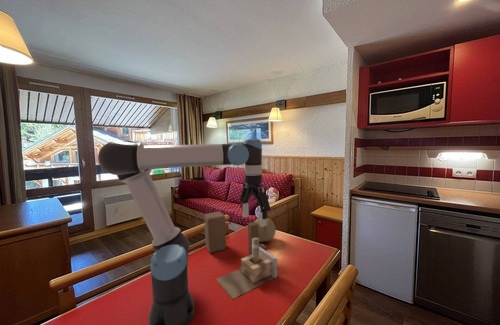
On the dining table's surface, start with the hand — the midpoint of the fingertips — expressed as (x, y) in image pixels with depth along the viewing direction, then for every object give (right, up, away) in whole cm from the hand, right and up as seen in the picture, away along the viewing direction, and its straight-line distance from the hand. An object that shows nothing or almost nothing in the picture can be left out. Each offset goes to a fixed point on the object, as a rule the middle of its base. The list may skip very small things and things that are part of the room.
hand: (254, 221), depth 92 cm
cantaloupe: (+7, -22, +36) cm, 43 cm away
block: (-22, -24, +28) cm, 43 cm away
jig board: (-3, -26, 0) cm, 26 cm away
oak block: (+1, -25, +3) cm, 26 cm away
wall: (+5, -25, +6) cm, 26 cm away
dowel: (+1, -24, +2) cm, 25 cm away
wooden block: (+2, -24, +19) cm, 31 cm away
